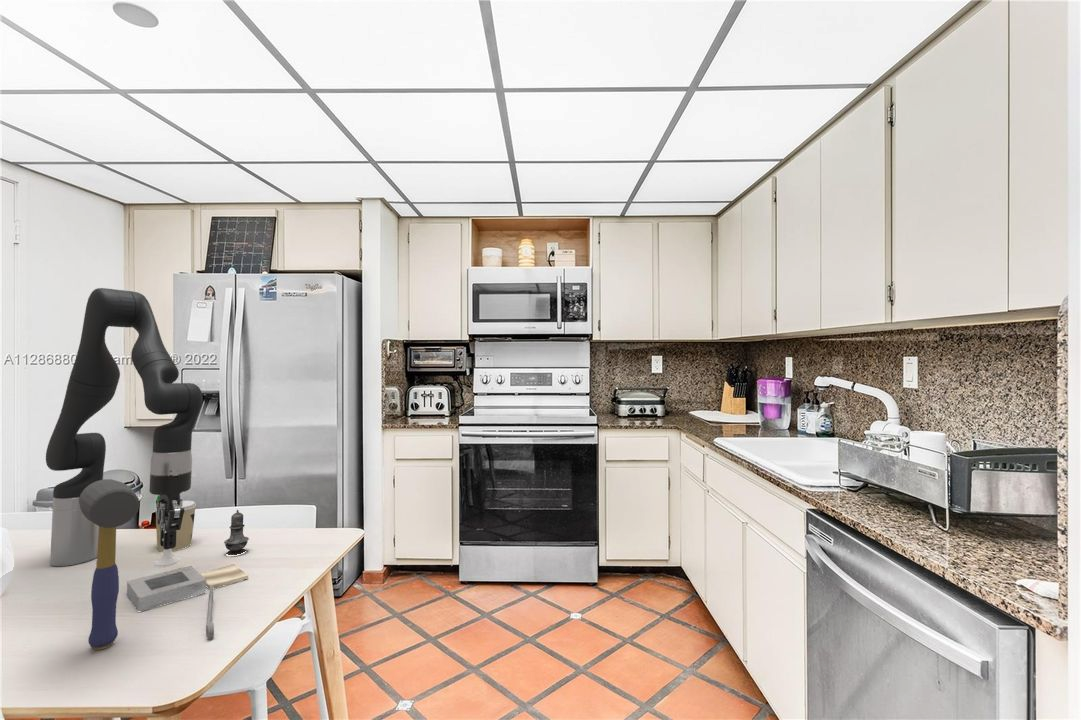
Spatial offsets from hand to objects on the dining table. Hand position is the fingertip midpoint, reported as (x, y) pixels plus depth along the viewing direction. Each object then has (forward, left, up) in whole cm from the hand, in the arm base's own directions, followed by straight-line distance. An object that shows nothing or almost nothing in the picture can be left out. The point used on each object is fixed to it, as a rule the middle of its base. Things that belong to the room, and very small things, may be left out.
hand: (167, 546), depth 110 cm
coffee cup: (-34, +9, -11) cm, 37 cm away
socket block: (0, 0, -11) cm, 11 cm away
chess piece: (0, 0, -4) cm, 4 cm away
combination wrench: (+20, +3, -11) cm, 23 cm away
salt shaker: (-16, +19, -11) cm, 27 cm away
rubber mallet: (+17, -13, -11) cm, 24 cm away
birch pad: (0, +11, -11) cm, 15 cm away
